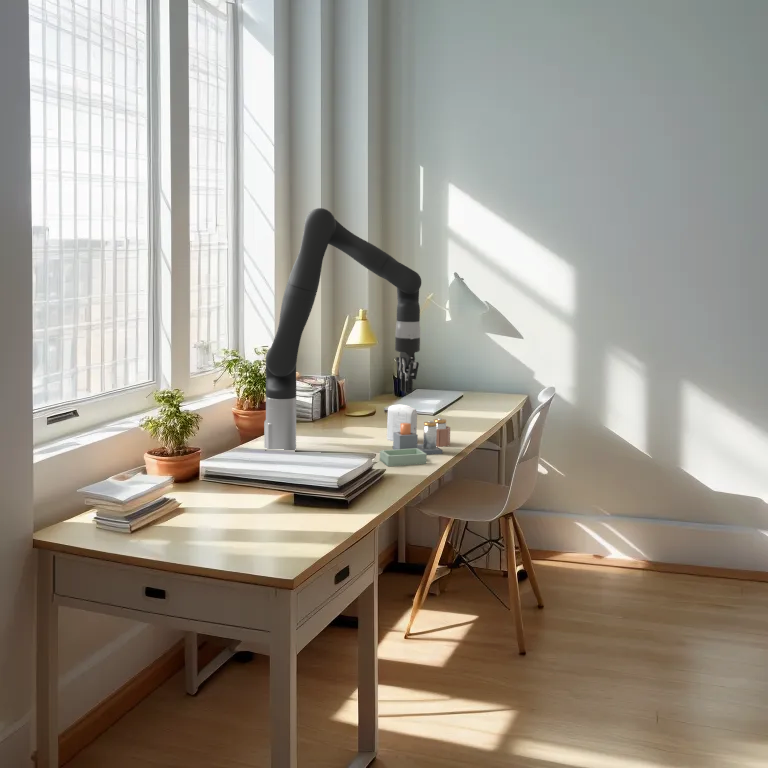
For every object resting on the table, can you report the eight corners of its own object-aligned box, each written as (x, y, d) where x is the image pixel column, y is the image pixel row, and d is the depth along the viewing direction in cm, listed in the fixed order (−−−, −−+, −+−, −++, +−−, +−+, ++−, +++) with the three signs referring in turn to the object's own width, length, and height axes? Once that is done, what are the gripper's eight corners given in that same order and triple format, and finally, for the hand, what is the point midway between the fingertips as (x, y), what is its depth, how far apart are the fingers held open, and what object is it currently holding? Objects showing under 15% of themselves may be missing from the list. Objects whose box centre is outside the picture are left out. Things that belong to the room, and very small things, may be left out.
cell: (426, 449, 272) (426, 422, 270) (421, 447, 276) (422, 420, 274) (438, 449, 273) (438, 422, 272) (433, 446, 277) (434, 419, 275)
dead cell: (435, 446, 283) (436, 419, 281) (431, 443, 286) (431, 417, 285) (447, 445, 284) (448, 419, 283) (442, 442, 288) (443, 417, 286)
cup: (433, 448, 281) (434, 429, 280) (426, 443, 287) (426, 425, 286) (452, 447, 283) (452, 428, 282) (444, 442, 289) (445, 424, 288)
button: (402, 441, 272) (402, 425, 272) (398, 438, 275) (399, 423, 275) (412, 440, 273) (412, 424, 273) (408, 438, 276) (408, 422, 276)
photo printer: (418, 443, 288) (419, 405, 286) (411, 445, 285) (412, 407, 283) (391, 438, 294) (392, 402, 292) (384, 441, 290) (385, 403, 289)
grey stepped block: (402, 457, 268) (403, 438, 268) (392, 450, 277) (393, 431, 276) (442, 454, 273) (442, 435, 272) (431, 448, 281) (431, 429, 280)
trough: (388, 466, 257) (388, 456, 257) (379, 460, 264) (379, 450, 264) (426, 463, 261) (426, 453, 261) (417, 457, 268) (417, 448, 268)
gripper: (388, 333, 275) (387, 388, 277) (404, 338, 262) (403, 396, 264) (411, 333, 277) (409, 387, 280) (427, 338, 264) (426, 395, 267)
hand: (406, 391), depth 272 cm, fingers open, 3 cm apart
